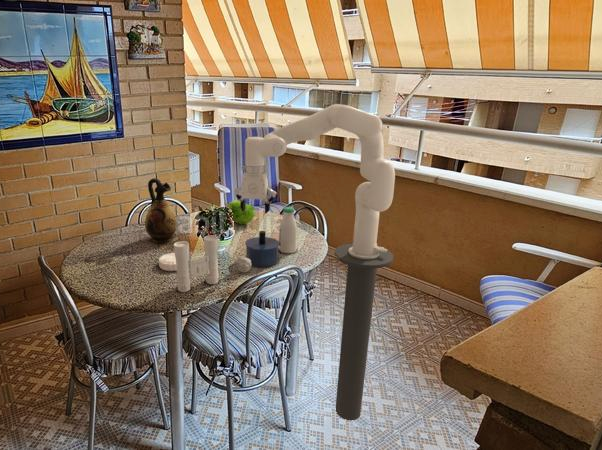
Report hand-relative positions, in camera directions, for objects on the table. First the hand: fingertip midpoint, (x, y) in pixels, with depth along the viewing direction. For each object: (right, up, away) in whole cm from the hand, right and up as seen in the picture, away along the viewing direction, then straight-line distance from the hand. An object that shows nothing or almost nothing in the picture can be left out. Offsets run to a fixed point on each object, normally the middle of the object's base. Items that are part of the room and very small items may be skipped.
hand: (255, 211), depth 164 cm
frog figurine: (-5, -24, 0) cm, 25 cm away
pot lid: (+4, -13, +7) cm, 16 cm away
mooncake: (-34, -22, +8) cm, 41 cm away
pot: (+4, -21, +10) cm, 23 cm away
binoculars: (-22, -28, -10) cm, 37 cm away
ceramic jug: (-43, -12, +36) cm, 58 cm away
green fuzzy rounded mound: (-4, -4, +58) cm, 58 cm away
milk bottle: (+16, -17, +20) cm, 31 cm away
